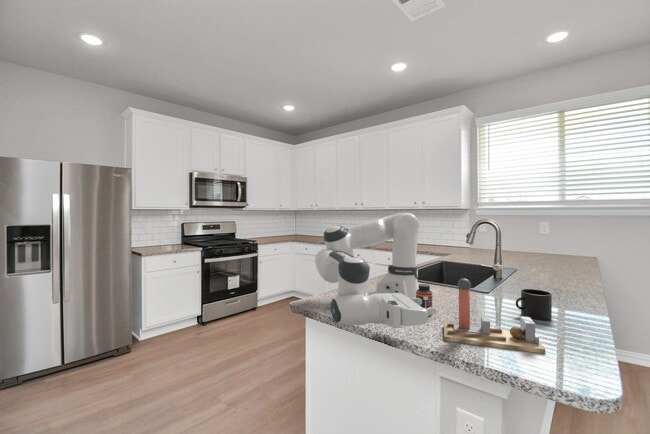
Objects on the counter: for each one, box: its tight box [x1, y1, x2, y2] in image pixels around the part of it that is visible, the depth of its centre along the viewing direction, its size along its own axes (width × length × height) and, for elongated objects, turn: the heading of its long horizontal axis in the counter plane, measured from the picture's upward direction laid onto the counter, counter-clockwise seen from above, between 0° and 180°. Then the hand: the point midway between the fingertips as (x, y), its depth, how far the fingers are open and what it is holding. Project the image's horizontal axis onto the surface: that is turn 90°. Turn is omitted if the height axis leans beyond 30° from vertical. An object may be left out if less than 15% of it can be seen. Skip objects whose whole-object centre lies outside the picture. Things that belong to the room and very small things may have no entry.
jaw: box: [520, 315, 540, 345], centre depth 91 cm, size 3×6×6 cm, turn 159°
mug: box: [515, 288, 553, 321], centre depth 114 cm, size 9×12×9 cm
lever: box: [453, 277, 491, 335], centre depth 96 cm, size 10×5×17 cm, turn 69°
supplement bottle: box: [416, 283, 433, 317], centre depth 117 cm, size 6×6×11 cm
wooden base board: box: [443, 322, 546, 355], centre depth 94 cm, size 26×12×2 cm, turn 69°
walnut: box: [509, 325, 523, 339], centre depth 92 cm, size 3×3×3 cm
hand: (427, 305), depth 95 cm, fingers open, 8 cm apart
